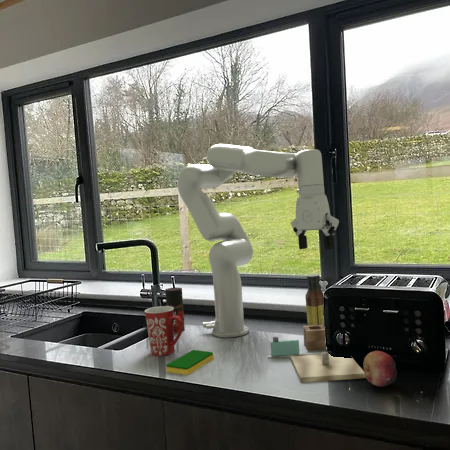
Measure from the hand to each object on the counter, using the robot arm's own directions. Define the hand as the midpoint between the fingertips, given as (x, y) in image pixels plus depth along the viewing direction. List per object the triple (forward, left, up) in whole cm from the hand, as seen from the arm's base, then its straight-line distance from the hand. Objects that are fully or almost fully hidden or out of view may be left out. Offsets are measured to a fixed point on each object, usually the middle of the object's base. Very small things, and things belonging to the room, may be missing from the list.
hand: (315, 249), depth 145 cm
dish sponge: (-39, -9, -30) cm, 50 cm away
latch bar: (-12, -7, -29) cm, 32 cm away
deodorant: (-46, +28, -30) cm, 61 cm away
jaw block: (-2, -1, -29) cm, 29 cm away
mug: (-47, +3, -30) cm, 55 cm away
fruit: (+7, -32, -30) cm, 44 cm away
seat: (-6, -17, -29) cm, 34 cm away
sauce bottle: (+1, +11, -30) cm, 31 cm away
